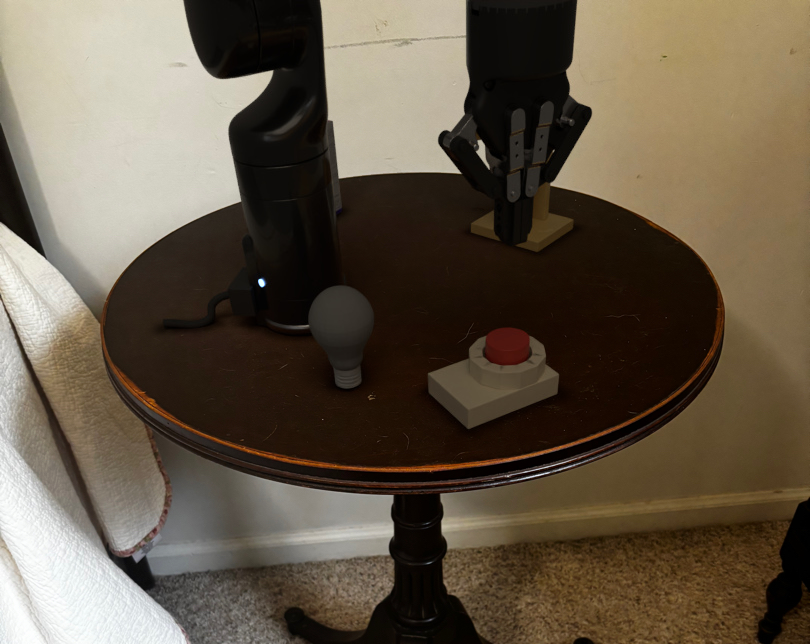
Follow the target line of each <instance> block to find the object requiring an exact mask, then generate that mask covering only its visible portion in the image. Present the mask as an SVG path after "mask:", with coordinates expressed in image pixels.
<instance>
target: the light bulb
mask: <svg viewBox="0 0 810 644" xmlns="http://www.w3.org/2000/svg"><path fill="white" fill-rule="evenodd" d="M308 322H309V327H310V330H311V335H312V337H313V339H314V340H315V341H316V342H317V344H318V345H319V346H320V348H322V350H323V351H324V352H325V353H326V356H327V359H328V362H329V363H330V365H331V367H332V368H333V374H334V375H333V376H334V382H335V385H336V386H337V387H339V388H342V389H353V388H356V387H358V386H359V385H361V383H362V380H363V379H362V370H361V364H362V362H363V358H364V349H365V347H366V345H367V343H368V341H369V340H370V338H371V335H372V334H373V330H374V325H375V314H374V310H373V307H372V305H371V303H370V301H369V300H368V299H367V297H366V296H365V295H363V293H361V292H360V291H359V290H357V289H356V288H354V287H352V286H348V285H347V286H346V285H344V286H333V287H330V288H327V289H325V290H324V291H322V292H321V293H320V294H319V295H318V296H317V297H316V299H315V300H314V301H313V303H312V305H311V308H310V311H309V316H308Z"/></svg>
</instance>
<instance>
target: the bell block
mask: <svg viewBox="0 0 810 644" xmlns="http://www.w3.org/2000/svg"><path fill="white" fill-rule="evenodd" d="M486 336H487V335H484V336H481V337H479V338H477V339H476V340H475V342H474V343H473V344H471V346H470V347H469V348H468V358H466V359H464V360H461V361H458V362H455V363H453V364H449V365H447V366H445V367H441V368H439V369H436V370H433V371H430V372H428V373H427V386H428V387H427V389H428V394H429V395H430V396H431V397H433V398H434V399H435V400H436V402H438V403H439V404H440V405H441V406H442V407H443V408H445V409H446V410H447V411H448V412H449V414H451V415H452V416H453V417H455V419H456V420H457V421H459V422H460V424H462V425H463V426H464V427H465V428H466V429H467V430H470V429H472V428H473V429H474V428H475V427H478V426H480V425H482V424H485V423H488V422H490V421H493V420H495V419H498V418H500V417H503V416H505V415H508V414H510V413H512V412H516V411H518V410H521V409H523V408H526V407H527V406H530V405H533V404H536V403H539V402H540V401H543V400H546V399H548V398H550V397H554V396H555V395H557V394H558V391H559V381H560V374H559V373H558V372H557V371H555V370H554V369H553V368H551V367H550V366H549V365H547V364H546V361H547V354H546V350H545V346H544V344H543V343H541V342H540V341H539V340H537V339H536V338H535V337H533V336H531V335H529V337H530V347H529V357H528V359H527V361H526V362H523V363H520V364H518V365H506V366H501V365H497V364H494V363H490V362H489V361H488V360H487V359H486V357H485V343H486Z"/></svg>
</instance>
